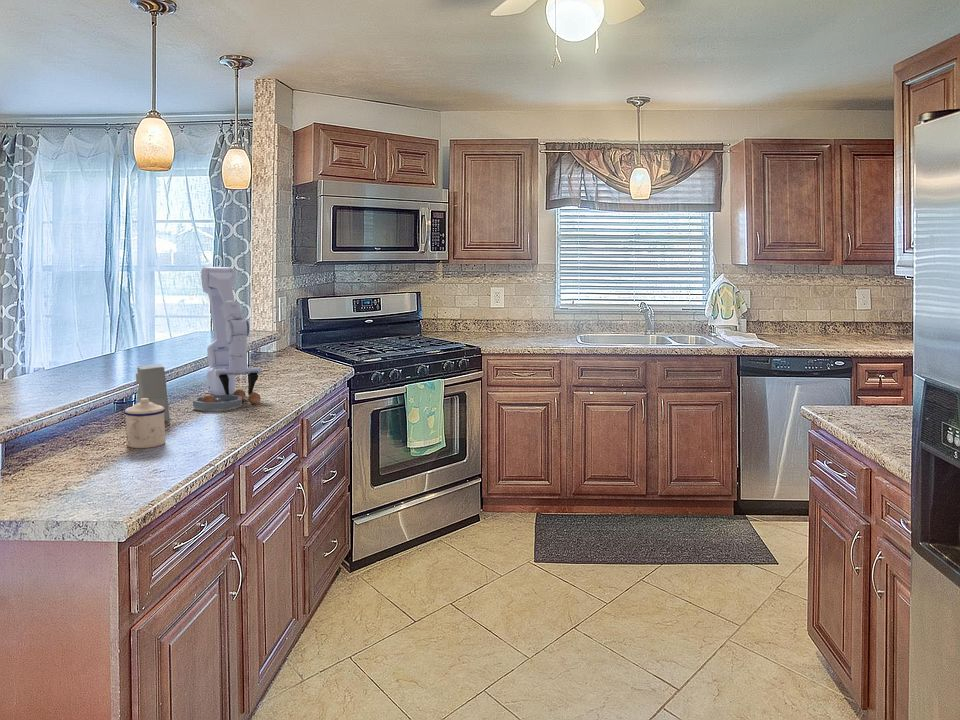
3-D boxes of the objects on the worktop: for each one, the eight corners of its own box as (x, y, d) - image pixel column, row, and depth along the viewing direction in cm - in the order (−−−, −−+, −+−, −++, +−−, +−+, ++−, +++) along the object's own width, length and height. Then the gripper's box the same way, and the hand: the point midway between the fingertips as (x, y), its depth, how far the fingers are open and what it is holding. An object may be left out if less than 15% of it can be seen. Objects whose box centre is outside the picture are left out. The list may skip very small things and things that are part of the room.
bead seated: (199, 406, 212) (199, 394, 211) (209, 404, 215) (209, 392, 215) (207, 407, 210) (207, 395, 210) (217, 405, 213) (217, 393, 213)
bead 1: (231, 400, 225) (230, 389, 225) (240, 399, 228) (239, 388, 228) (239, 402, 223) (238, 390, 223) (248, 400, 227) (247, 389, 226)
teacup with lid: (139, 438, 176) (137, 394, 174) (173, 440, 175) (171, 395, 173) (110, 451, 164) (108, 403, 162) (147, 453, 163) (144, 405, 161)
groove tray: (184, 407, 213) (184, 399, 213) (220, 400, 225) (220, 392, 225) (215, 413, 206) (214, 405, 206) (250, 405, 219) (250, 397, 218)
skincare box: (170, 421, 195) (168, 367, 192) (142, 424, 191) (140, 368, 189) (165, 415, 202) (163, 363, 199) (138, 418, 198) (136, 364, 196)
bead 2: (245, 404, 220) (245, 392, 220) (254, 402, 224) (254, 391, 223) (254, 405, 219) (254, 394, 218) (263, 403, 222) (263, 392, 221)
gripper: (217, 358, 217) (218, 400, 219) (263, 356, 224) (264, 396, 226) (213, 355, 223) (214, 396, 225) (258, 353, 230) (259, 392, 232)
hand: (238, 396), depth 226 cm, fingers open, 7 cm apart
